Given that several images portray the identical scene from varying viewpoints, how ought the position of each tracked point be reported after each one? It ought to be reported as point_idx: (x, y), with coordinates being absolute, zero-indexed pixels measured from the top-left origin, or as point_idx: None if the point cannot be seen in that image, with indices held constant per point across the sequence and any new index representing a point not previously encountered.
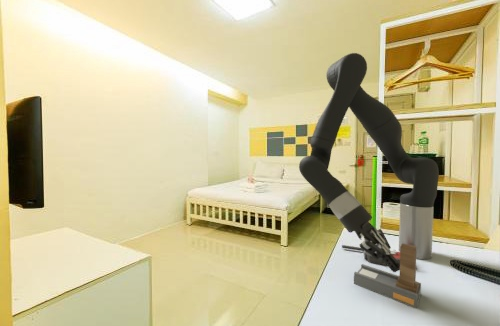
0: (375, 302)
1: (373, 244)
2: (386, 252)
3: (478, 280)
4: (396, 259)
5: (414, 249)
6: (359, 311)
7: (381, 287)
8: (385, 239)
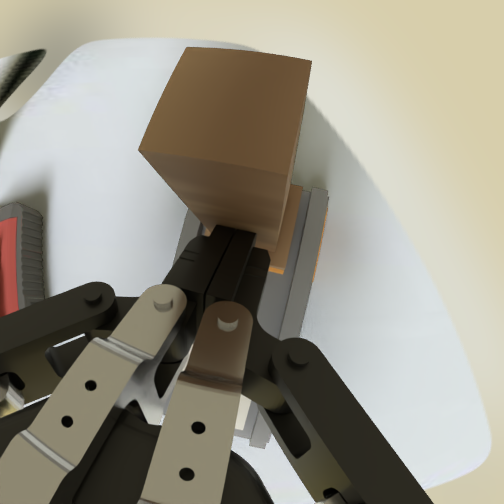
0: (366, 343)
1: (370, 480)
2: (251, 330)
3: (68, 63)
4: (21, 249)
5: (292, 60)
6: (435, 380)
7: (299, 329)
8: (27, 324)
